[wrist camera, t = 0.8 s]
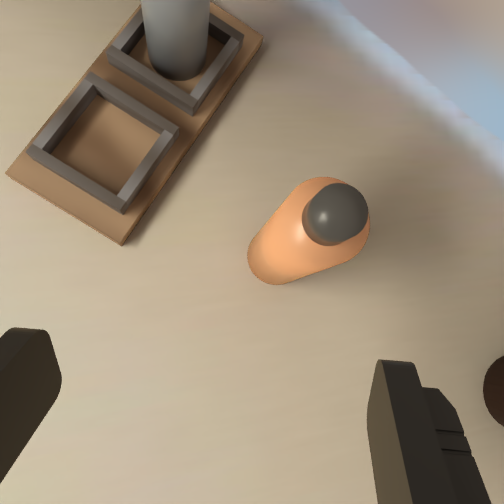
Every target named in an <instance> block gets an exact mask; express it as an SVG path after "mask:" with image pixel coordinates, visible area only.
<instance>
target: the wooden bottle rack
mask: <svg viewBox="0 0 504 504" xmlns="http://www.w3.org/2000/svg"><path fill="white" fill-rule="evenodd" d="M262 40H263V36H262V35H261V34H259V33H258V32H256V31H255V30H253V29H252V28H250V27H248V26H247V25H245V24H244V23H242V22H241V21H239V20H238V19H236V18H235V17H233V16H232V15H230V14H229V13H227V12H226V11H224V10H223V9H221V8H220V7H218V6H216V5H215V4H213V3H212V2H210V13H209V26H208V40H207V53H206V62H205V65H204V68H203V69H202V71H201V72H200V73H199V74H198V75H197V76H195V77H194V78H192V79H189V80H185V81H174V80H170V79H167V78H165V77H163V76H161V75H160V74H159V73H158V72H156V70H155V69H154V68H153V67H152V65H151V63H150V60H149V55H148V48H147V42H146V35H145V28H144V21H143V14H142V7H141V4H140V6H139V7H138V8H137V9H136V11H135V12H134V13H133V14H132V16H131V17H130V18H129V19H128V20H127V22H126V23H125V24H124V25H123V27H122V28H121V29H120V30H119V32H118V33H117V34H116V35H115V37H114V38H113V39H112V40H111V42H110V43H109V44H108V45H107V47H106V48H105V49H104V50H103V52H102V53H101V54H100V55H99V57H98V58H97V59H96V60H95V62H94V63H93V64H92V65H91V67H90V68H89V69H88V70H87V72H86V73H85V74H84V75H83V76H82V78H81V79H80V80H79V81H78V83H77V84H76V85H75V86H74V88H73V89H72V90H71V91H70V93H69V94H68V95H67V96H66V98H65V99H64V100H63V101H62V103H61V104H60V105H59V106H58V108H57V109H56V110H55V111H54V113H53V114H52V115H51V116H50V118H49V119H48V120H47V121H46V123H45V124H44V125H43V126H42V128H41V129H40V130H39V131H38V133H37V134H36V135H35V136H34V137H33V139H32V140H31V141H30V142H29V144H28V145H27V146H26V147H25V149H24V150H23V151H22V152H21V154H20V155H19V156H18V157H17V159H16V160H15V161H14V162H13V164H12V165H11V166H10V167H9V169H8V170H7V171H6V172H5V174H6V175H8V176H9V177H10V178H11V179H13V180H15V181H16V182H18V183H19V184H21V185H23V186H24V187H26V188H28V189H29V190H31V191H32V192H34V193H36V194H37V195H39V196H41V197H42V198H44V199H46V200H47V201H49V202H50V203H52V204H54V205H55V206H57V207H59V208H60V209H62V210H63V211H65V212H67V213H68V214H70V215H72V216H73V217H75V218H76V219H78V220H80V221H81V222H83V223H85V224H86V225H88V226H89V227H91V228H93V229H94V230H96V231H98V232H99V233H101V234H103V235H104V236H106V237H107V238H109V239H111V240H112V241H114V242H116V243H117V244H119V245H120V246H122V245H123V243H124V242H125V241H126V239H127V238H128V236H129V235H130V233H131V232H132V230H133V229H134V228H135V226H136V225H137V223H138V222H139V220H140V219H141V217H142V216H143V215H144V213H145V212H146V210H147V209H148V207H149V206H150V204H151V203H152V202H153V200H154V199H155V197H156V196H157V194H158V193H159V191H160V190H161V189H162V187H163V186H164V184H165V183H166V181H167V180H168V179H169V177H170V176H171V174H172V173H173V171H174V170H175V168H176V167H177V166H178V164H179V163H180V161H181V160H182V158H183V157H184V155H185V154H186V153H187V151H188V150H189V148H190V147H191V145H192V144H193V142H194V141H195V140H196V138H197V137H198V135H199V134H200V132H201V131H202V130H203V128H204V127H205V125H206V124H207V122H208V121H209V119H210V118H211V117H212V115H213V114H214V112H215V111H216V109H217V108H218V106H219V105H220V104H221V102H222V101H223V99H224V98H225V96H226V95H227V93H228V92H229V91H230V89H231V88H232V86H233V85H234V83H235V82H236V80H237V79H238V78H239V76H240V75H241V73H242V72H243V70H244V69H245V68H246V66H247V65H248V63H249V62H250V60H251V59H252V57H253V56H254V55H255V53H256V52H257V50H258V49H259V47H260V46H261V43H262Z"/></svg>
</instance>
